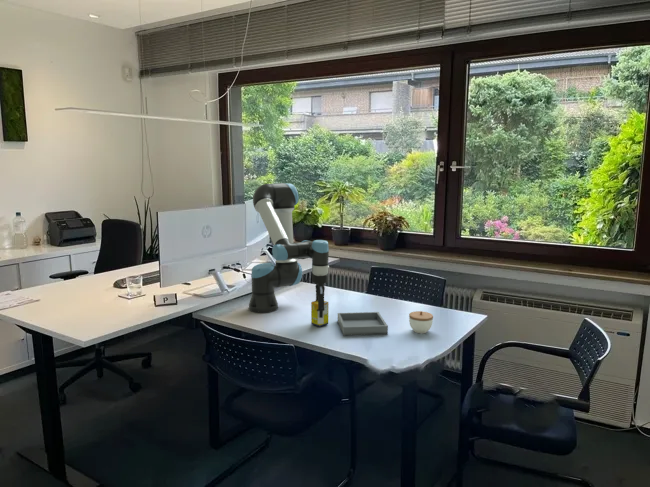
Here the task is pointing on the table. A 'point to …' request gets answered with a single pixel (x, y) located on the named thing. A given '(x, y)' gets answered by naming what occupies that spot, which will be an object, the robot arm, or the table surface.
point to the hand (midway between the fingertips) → (319, 320)
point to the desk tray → (362, 324)
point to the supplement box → (315, 313)
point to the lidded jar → (420, 321)
